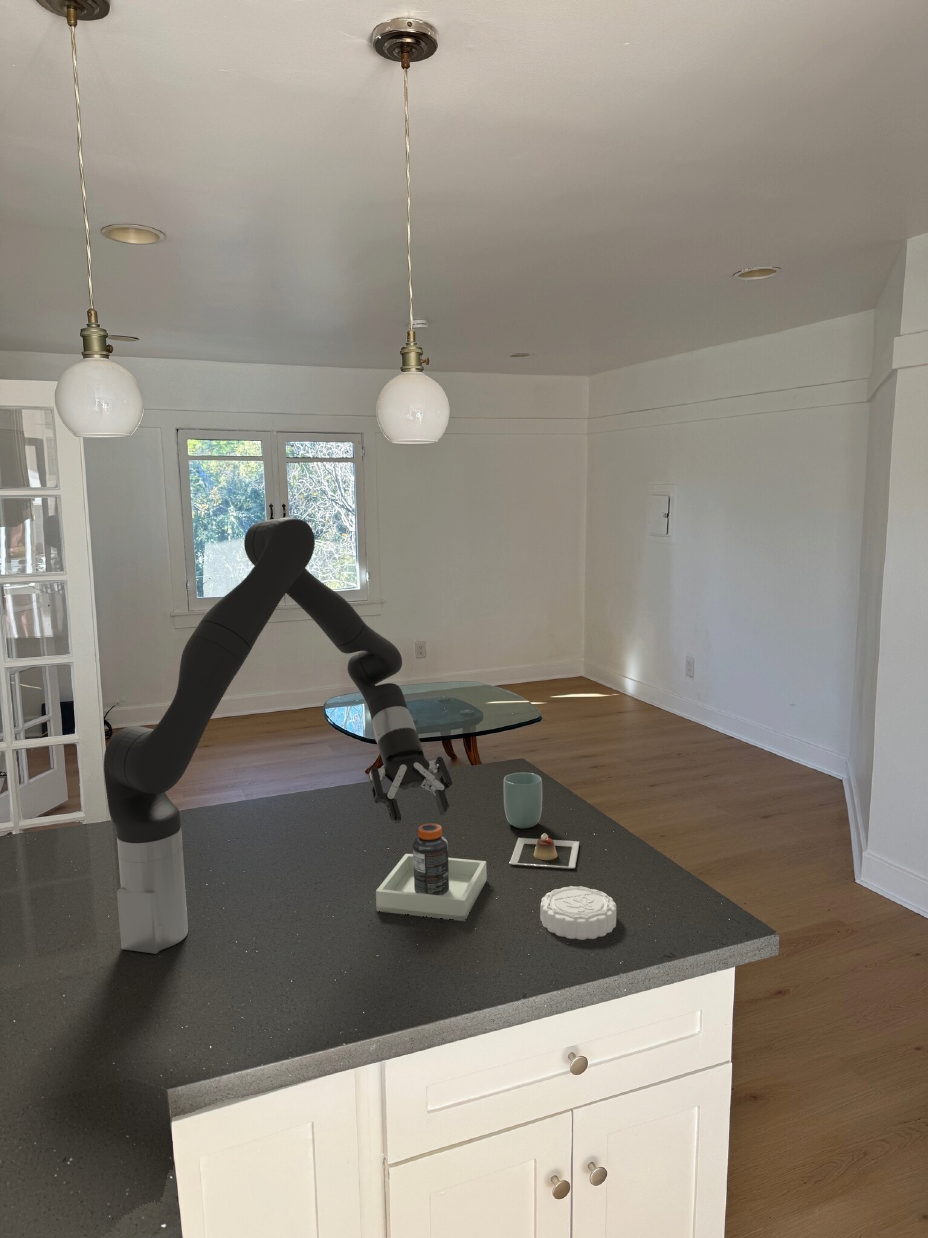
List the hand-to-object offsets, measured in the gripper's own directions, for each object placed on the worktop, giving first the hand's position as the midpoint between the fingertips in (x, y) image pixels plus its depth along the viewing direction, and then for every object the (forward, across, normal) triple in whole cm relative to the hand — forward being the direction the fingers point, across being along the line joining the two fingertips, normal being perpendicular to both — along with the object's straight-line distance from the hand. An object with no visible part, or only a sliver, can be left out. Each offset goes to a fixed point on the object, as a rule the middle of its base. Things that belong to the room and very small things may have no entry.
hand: (421, 817), depth 144 cm
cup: (-2, +29, +20) cm, 35 cm away
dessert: (+8, +25, +10) cm, 28 cm away
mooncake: (+25, +17, -7) cm, 31 cm away
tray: (+12, 0, +6) cm, 13 cm away
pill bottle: (+11, 0, +5) cm, 12 cm away
